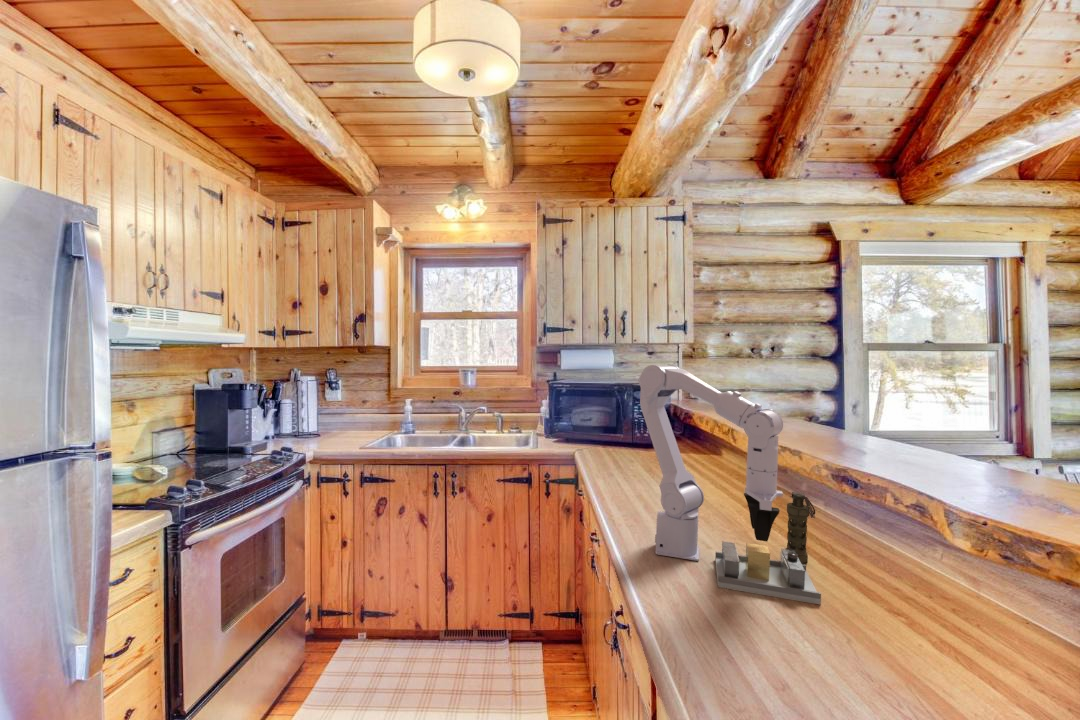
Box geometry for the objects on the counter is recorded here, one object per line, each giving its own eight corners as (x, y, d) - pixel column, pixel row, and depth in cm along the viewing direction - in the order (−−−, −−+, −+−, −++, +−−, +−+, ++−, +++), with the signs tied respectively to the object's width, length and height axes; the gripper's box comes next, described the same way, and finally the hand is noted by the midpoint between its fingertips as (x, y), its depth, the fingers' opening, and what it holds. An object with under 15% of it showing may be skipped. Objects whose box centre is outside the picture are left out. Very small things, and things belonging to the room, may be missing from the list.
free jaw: (788, 588, 91) (789, 563, 91) (779, 566, 100) (780, 543, 100) (804, 591, 90) (805, 565, 90) (793, 568, 99) (794, 545, 99)
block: (747, 577, 96) (748, 550, 96) (745, 568, 99) (746, 542, 99) (769, 580, 94) (770, 553, 94) (766, 571, 98) (767, 545, 98)
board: (718, 587, 93) (718, 577, 93) (715, 559, 106) (715, 551, 106) (820, 604, 88) (821, 594, 88) (805, 573, 100) (805, 564, 100)
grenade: (815, 568, 103) (818, 500, 102) (785, 562, 105) (788, 496, 105) (812, 553, 111) (814, 490, 110) (784, 548, 113) (786, 486, 113)
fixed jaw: (724, 579, 94) (725, 560, 94) (721, 559, 104) (722, 541, 104) (739, 582, 93) (739, 562, 93) (735, 561, 103) (735, 543, 103)
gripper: (790, 479, 88) (787, 551, 89) (777, 463, 102) (775, 524, 102) (749, 475, 91) (747, 545, 91) (742, 459, 104) (740, 520, 105)
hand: (759, 534), depth 97 cm, fingers open, 6 cm apart
